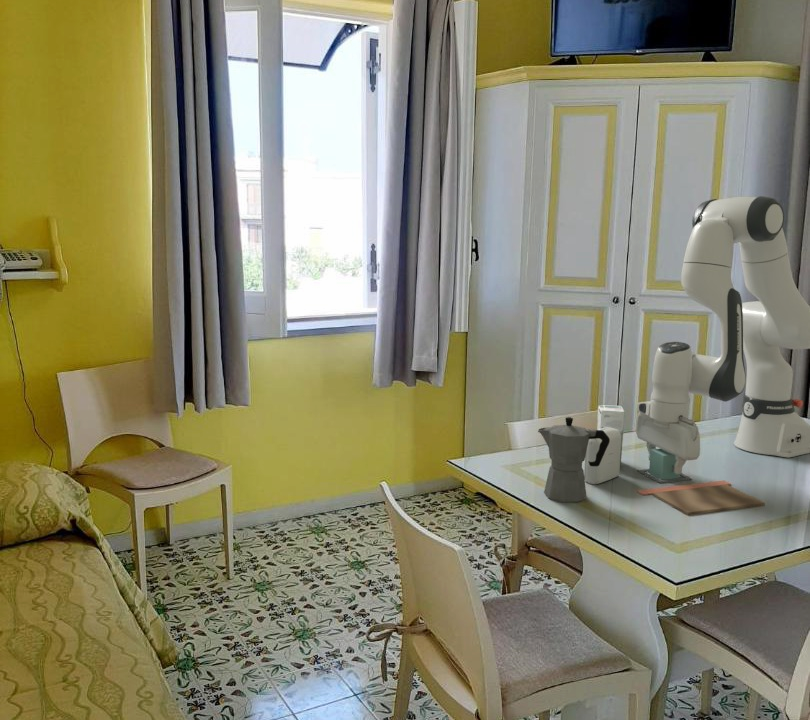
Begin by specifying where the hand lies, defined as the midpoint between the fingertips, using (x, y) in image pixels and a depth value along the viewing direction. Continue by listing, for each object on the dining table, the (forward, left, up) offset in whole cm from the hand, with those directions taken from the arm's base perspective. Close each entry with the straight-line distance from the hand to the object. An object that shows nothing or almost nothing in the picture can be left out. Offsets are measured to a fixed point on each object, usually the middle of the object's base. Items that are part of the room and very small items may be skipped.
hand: (664, 467), depth 192 cm
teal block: (0, 0, -2) cm, 2 cm away
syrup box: (+8, -12, -2) cm, 15 cm away
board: (+1, +17, -2) cm, 17 cm away
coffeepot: (+29, +6, -2) cm, 30 cm away
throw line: (+1, +9, -2) cm, 9 cm away
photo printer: (+16, -2, -2) cm, 16 cm away
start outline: (0, 0, -2) cm, 2 cm away
